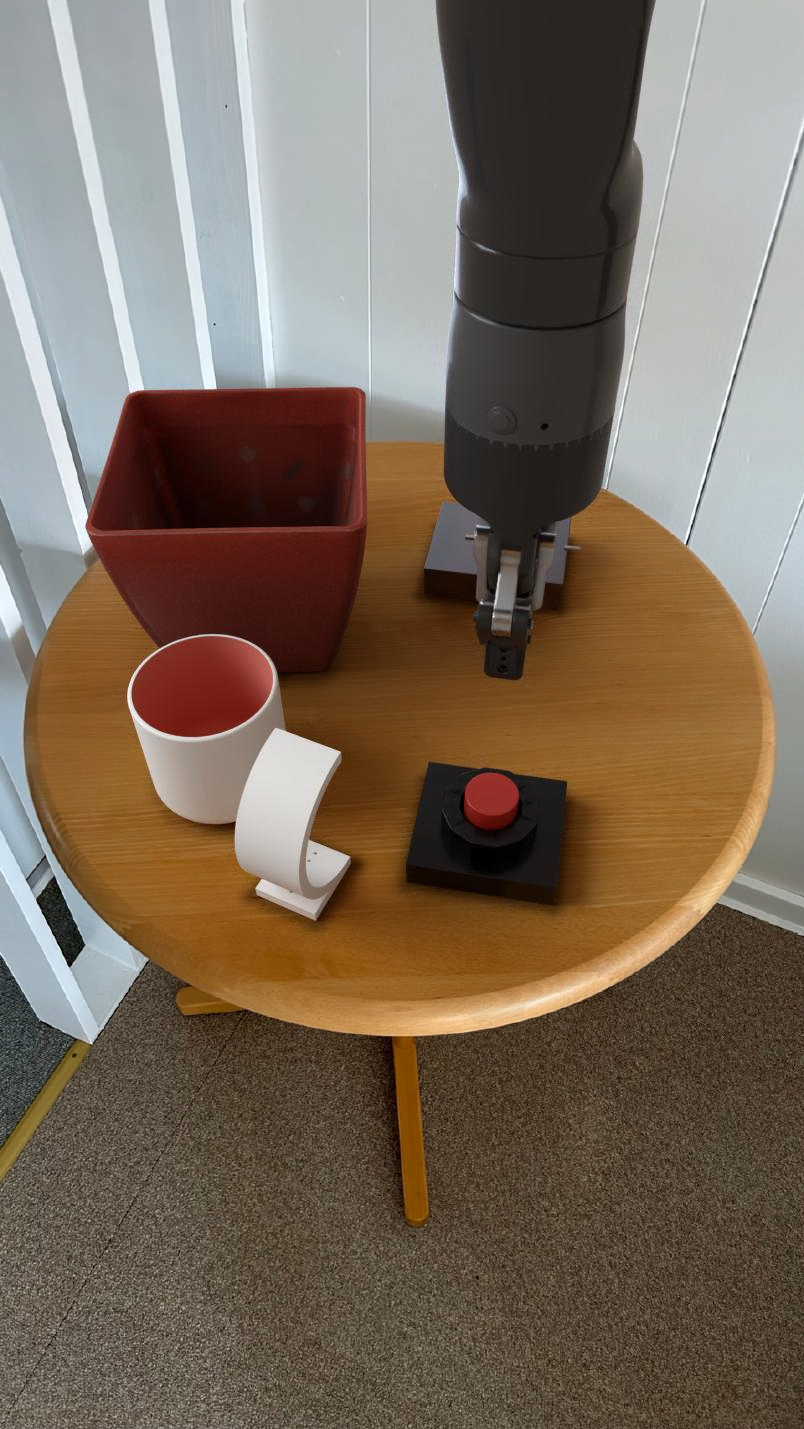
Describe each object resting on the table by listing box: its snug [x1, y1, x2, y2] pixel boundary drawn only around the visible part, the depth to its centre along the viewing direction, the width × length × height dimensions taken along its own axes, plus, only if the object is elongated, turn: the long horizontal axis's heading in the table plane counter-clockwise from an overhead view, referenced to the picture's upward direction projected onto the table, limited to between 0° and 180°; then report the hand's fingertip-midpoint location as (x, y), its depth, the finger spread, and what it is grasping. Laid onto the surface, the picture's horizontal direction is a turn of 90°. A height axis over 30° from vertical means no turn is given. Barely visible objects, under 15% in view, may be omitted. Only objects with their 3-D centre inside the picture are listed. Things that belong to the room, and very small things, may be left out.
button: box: [464, 773, 519, 830], centre depth 65 cm, size 4×4×2 cm
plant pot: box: [84, 386, 368, 673], centre depth 77 cm, size 19×19×17 cm
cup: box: [127, 634, 287, 825], centre depth 68 cm, size 10×10×10 cm
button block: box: [405, 761, 568, 906], centre depth 67 cm, size 10×9×4 cm
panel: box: [423, 501, 582, 611], centre depth 87 cm, size 13×10×3 cm
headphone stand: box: [234, 728, 352, 922], centre depth 61 cm, size 5×6×12 cm
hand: (504, 669), depth 55 cm, fingers closed
